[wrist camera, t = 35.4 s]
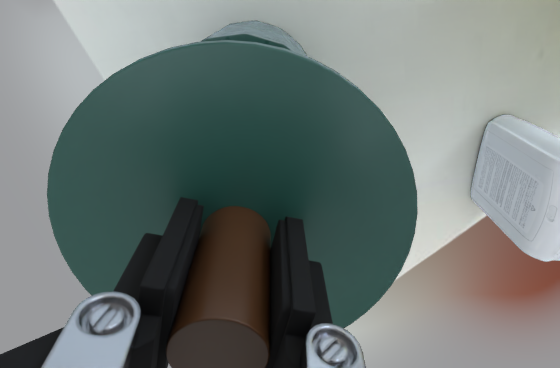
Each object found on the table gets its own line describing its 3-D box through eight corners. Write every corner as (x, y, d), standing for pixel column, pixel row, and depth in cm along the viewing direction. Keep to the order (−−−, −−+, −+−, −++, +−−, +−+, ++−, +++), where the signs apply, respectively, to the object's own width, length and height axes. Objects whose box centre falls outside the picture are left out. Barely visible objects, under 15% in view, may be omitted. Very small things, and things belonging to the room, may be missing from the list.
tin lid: (413, 10, 11) (559, 21, 5) (401, 318, 16) (465, 473, 11) (-1, 67, 11) (-256, 130, 6) (128, 346, 17) (61, 509, 11)
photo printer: (502, 199, 42) (584, 272, 31) (464, 201, 42) (534, 274, 31) (525, 112, 37) (633, 160, 26) (483, 114, 37) (573, 163, 26)
